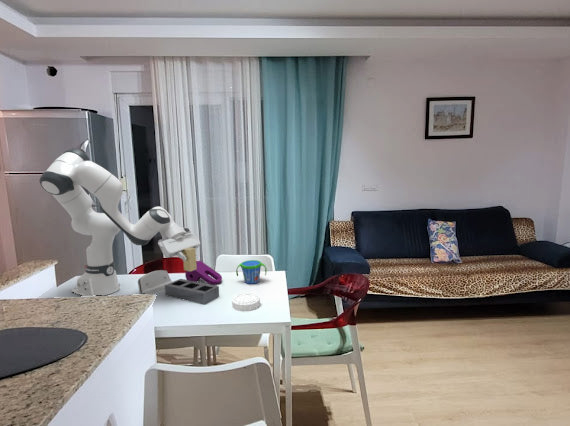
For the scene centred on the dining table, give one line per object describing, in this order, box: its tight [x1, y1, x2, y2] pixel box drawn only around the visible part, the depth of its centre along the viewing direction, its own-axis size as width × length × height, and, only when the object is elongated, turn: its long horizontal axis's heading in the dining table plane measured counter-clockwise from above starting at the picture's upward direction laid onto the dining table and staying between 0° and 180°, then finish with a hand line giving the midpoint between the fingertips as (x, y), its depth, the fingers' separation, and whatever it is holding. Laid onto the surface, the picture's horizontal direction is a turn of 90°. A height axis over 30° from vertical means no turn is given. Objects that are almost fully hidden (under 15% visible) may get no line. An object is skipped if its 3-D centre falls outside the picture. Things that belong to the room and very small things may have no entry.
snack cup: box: [235, 259, 267, 285], centre depth 179 cm, size 16×10×10 cm
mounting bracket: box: [184, 260, 223, 286], centre depth 181 cm, size 10×8×18 cm
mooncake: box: [231, 293, 261, 312], centre depth 150 cm, size 12×12×4 cm
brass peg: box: [182, 247, 197, 272], centre depth 159 cm, size 4×4×10 cm
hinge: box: [137, 269, 173, 295], centre depth 172 cm, size 17×5×10 cm, turn 146°
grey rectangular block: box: [164, 278, 220, 305], centre depth 162 cm, size 24×10×5 cm, turn 61°
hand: (190, 258), depth 159 cm, fingers closed on brass peg, 4 cm apart
